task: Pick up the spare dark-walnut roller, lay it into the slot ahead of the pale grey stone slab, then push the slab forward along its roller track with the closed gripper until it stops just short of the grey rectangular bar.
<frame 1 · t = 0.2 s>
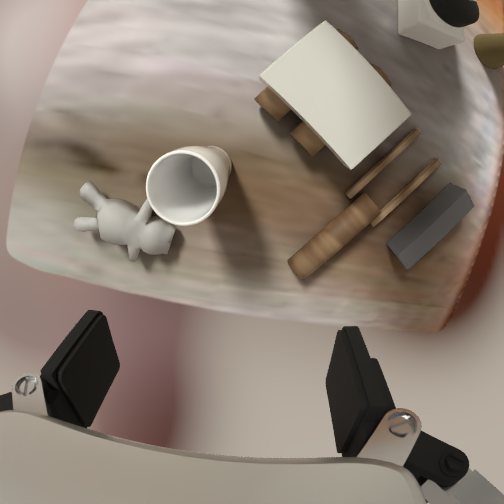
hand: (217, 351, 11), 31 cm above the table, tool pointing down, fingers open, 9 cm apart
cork: (486, 51, 28), on the table
grey rectangular bar: (424, 219, 40), on the table
bunny figurine: (130, 217, 42), on the table
white cup: (212, 165, 39), on the table
track: (327, 97, 34), on the table
slab: (337, 93, 29), point 6 cm above the table, slide at 0.0 cm
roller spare: (331, 232, 42), on the table
medicine bottle: (418, 22, 28), on the table
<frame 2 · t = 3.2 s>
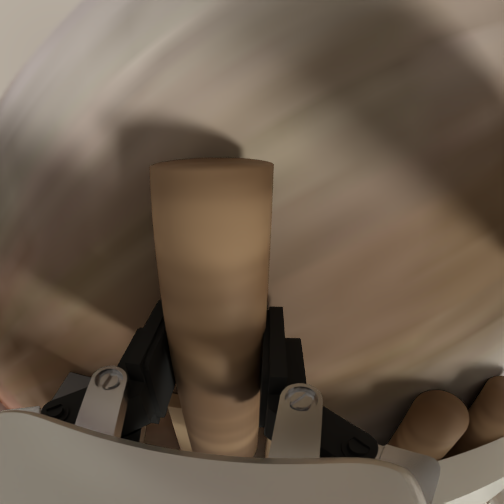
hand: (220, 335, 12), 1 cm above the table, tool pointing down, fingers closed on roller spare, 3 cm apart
grey rectangular bar: (119, 438, 18), on the table
track: (414, 444, 17), on the table
slab: (432, 503, 12), point 6 cm above the table, slide at 0.0 cm
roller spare: (222, 325, 13), on the table, touching gripper
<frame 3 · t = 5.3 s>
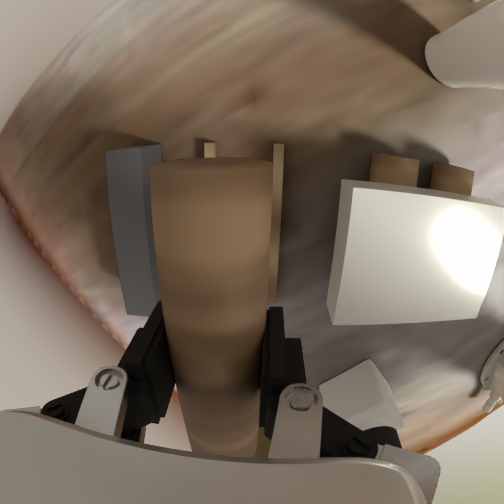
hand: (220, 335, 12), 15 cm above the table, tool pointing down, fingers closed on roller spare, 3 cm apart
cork: (270, 426, 37), on the table
grey rectangular bar: (149, 222, 26), on the table
white cup: (444, 61, 19), on the table
track: (396, 232, 26), on the table
slab: (423, 257, 20), point 6 cm above the table, slide at 0.0 cm
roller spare: (221, 325, 13), point 14 cm above the table, touching gripper
medicine bottle: (355, 384, 34), on the table
when the fingers open (1 cm above the table, at t = 7.6 s): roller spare drops 1 cm, on the table.
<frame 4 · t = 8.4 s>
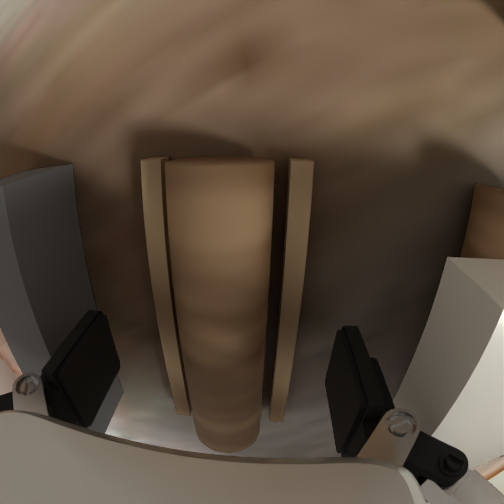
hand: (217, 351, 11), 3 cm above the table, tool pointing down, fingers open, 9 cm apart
grey rectangular bar: (72, 298, 14), on the table
track: (479, 312, 13), on the table
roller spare: (230, 311, 14), on the table
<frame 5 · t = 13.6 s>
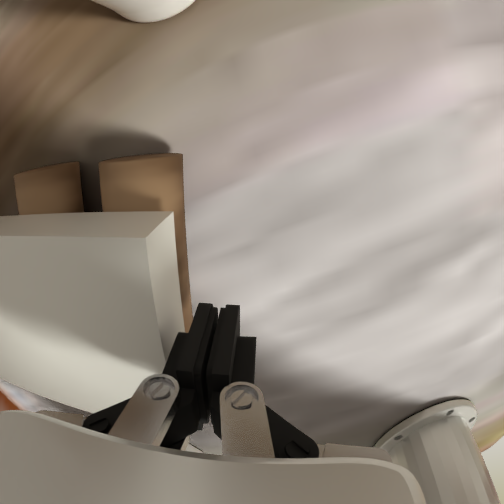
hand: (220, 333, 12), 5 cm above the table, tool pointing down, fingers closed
track: (106, 271, 18), on the table
slab: (48, 319, 12), point 6 cm above the table, slide at 0.8 cm, touching gripper
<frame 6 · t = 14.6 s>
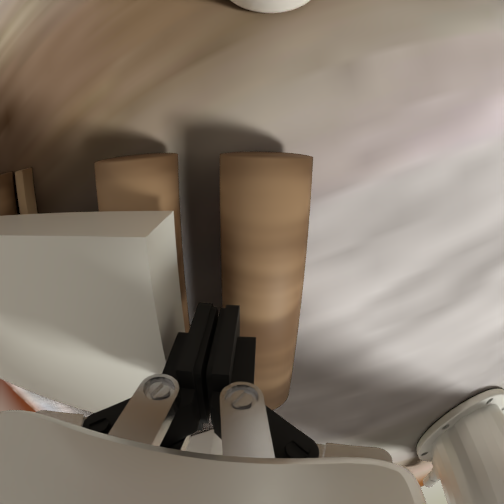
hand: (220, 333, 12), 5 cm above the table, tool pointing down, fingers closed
track: (192, 275, 17), on the table
slab: (48, 319, 12), point 6 cm above the table, slide at 6.5 cm, touching gripper
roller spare: (24, 262, 18), on the table
medicine bottle: (214, 449, 25), on the table
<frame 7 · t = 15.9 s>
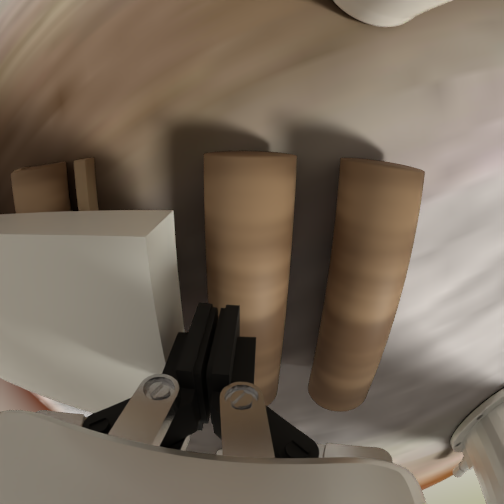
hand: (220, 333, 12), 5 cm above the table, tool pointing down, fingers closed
track: (285, 279, 17), on the table
slab: (47, 318, 12), point 6 cm above the table, slide at 11.8 cm, touching gripper
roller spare: (73, 266, 18), on the table, tilted 7°
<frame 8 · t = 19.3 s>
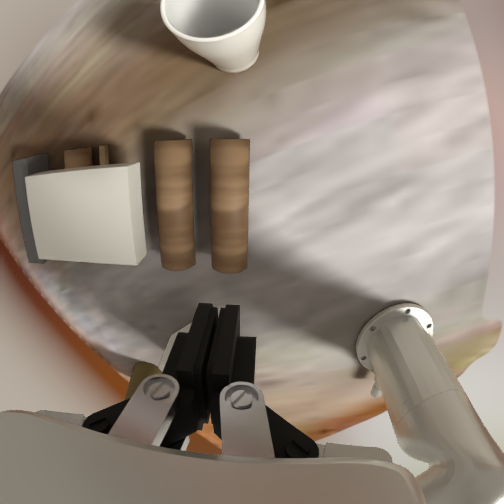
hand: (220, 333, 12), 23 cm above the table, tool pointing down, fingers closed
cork: (150, 374, 46), on the table
grey rectangular bar: (45, 203, 35), on the table
white cup: (234, 52, 27), on the table
track: (196, 200, 34), on the table
slab: (81, 214, 29), point 6 cm above the table, slide at 11.9 cm
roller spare: (93, 201, 34), on the table, tilted 21°
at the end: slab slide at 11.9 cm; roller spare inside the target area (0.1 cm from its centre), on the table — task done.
